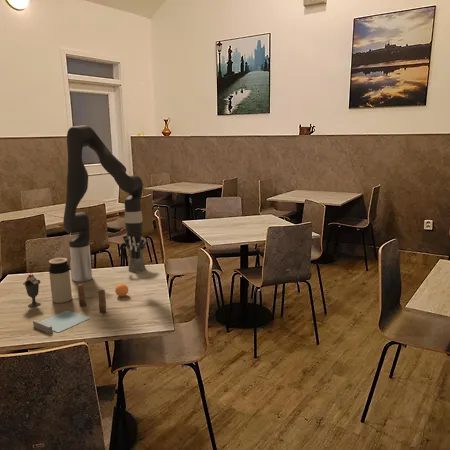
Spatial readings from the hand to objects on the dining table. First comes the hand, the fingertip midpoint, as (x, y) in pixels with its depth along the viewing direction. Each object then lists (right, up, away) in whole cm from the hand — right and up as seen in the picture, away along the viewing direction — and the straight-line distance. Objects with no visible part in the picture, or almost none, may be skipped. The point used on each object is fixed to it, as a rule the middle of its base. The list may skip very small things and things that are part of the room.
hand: (136, 258), depth 190 cm
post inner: (-19, -19, -14) cm, 30 cm away
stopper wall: (-27, -24, -35) cm, 50 cm away
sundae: (-40, -19, -13) cm, 46 cm away
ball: (-5, -14, -5) cm, 15 cm away
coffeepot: (-7, -9, +31) cm, 33 cm away
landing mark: (-22, -22, -29) cm, 42 cm away
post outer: (-9, -20, -21) cm, 30 cm away
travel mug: (-30, -18, -8) cm, 36 cm away
